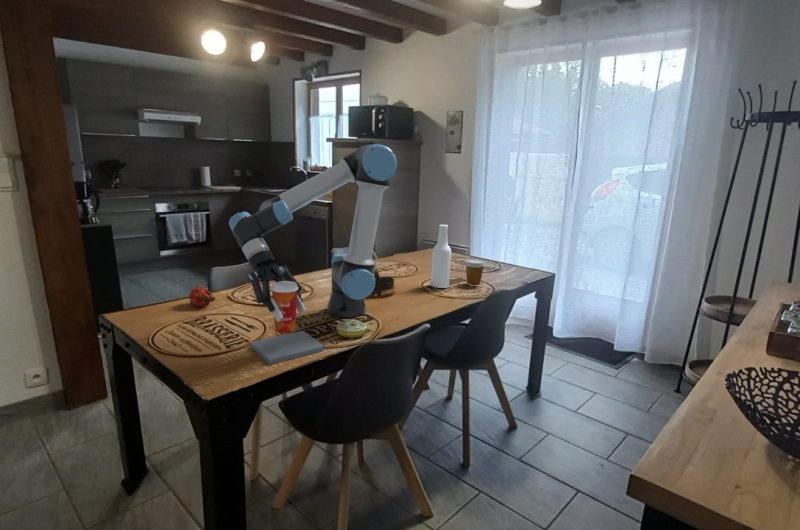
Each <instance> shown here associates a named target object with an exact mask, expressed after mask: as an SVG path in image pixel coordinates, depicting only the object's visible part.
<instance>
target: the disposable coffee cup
mask: <svg viewBox="0 0 800 530" xmlns="http://www.w3.org/2000/svg"><path fill="white" fill-rule="evenodd" d="M464 264H465V269H466V273H465V274H466V275H465V276H466V284H467V283H468V284H471V285H479V284H480V285H481V281H482V276H483V271H484V267H485V266H486V264H485V261H484V260H483V259H482V260H481V259H476V258H475V259H474V258H472V259H471V258H470V259H466V261H465V263H464Z"/></svg>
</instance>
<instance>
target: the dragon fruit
mask: <svg viewBox="0 0 800 530" xmlns="http://www.w3.org/2000/svg"><path fill="white" fill-rule="evenodd" d="M213 296H214V295H213V294H212V292H211V291H210V290H209V288H208V287H204V286H202V285H197V286H195V287H193V288H192V289H191V290H190V293H189V294H188V299H189V303H190V305H191V306H196V307H197V308H198V309H205V307H204V306H210V305H211V304H212V302H214V301H215V300H216V296H214V297H213Z"/></svg>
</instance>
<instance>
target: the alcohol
mask: <svg viewBox="0 0 800 530" xmlns="http://www.w3.org/2000/svg"><path fill="white" fill-rule="evenodd" d="M438 226H439V227H438V229H439V231H438V236H437V243H436V245H434V246H433V248H432V257H431V274H430V276H431V277H430V286H431V287H432V286H433V287H438V288H446V287H448V286H450V275H451V263H452V248H451V247H450V246H449V243H448V229H449V228H448V226H449V225H448V224H439V225H438ZM433 287H432V288H433ZM448 288H449V287H448ZM446 289H447V288H446Z"/></svg>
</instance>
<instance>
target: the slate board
mask: <svg viewBox="0 0 800 530" xmlns="http://www.w3.org/2000/svg"><path fill="white" fill-rule="evenodd" d="M250 347H251V348H252V349H253V350H254V351H255V352H256V353H257V354H258V355H259V356H260V357H261V358H262V359H263V360H264V361H265V362H266V363H267V364H268V365H273V364H274V365H275V364H278V363H281V362H285V361H288V360H292V359H296V358H300V357H304V356H309V355H312V354H315V353H319V352H323V351H325V345H323V344H322V343H320V342H319V341H318V340H317V339H315V338H314V337H312V336H311V335H309V333H306V332H305V331H304V330H300V331H296V332H291V333H285V334H282V335H278V336H273V337H268V338H264V339H260V340H255V341H250Z"/></svg>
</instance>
